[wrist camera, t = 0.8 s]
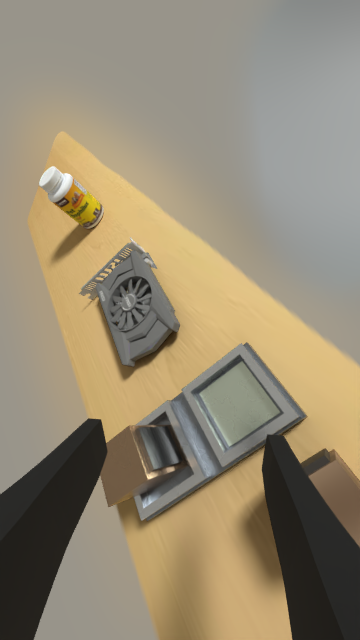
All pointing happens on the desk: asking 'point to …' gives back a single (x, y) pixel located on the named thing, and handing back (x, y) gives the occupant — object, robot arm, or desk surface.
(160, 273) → the desk surface
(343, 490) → the walnut block
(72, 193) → the supplement bottle
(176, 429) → the grey block holder
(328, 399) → the desk surface
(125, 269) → the graphics card
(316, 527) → the robot arm
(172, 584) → the desk surface
